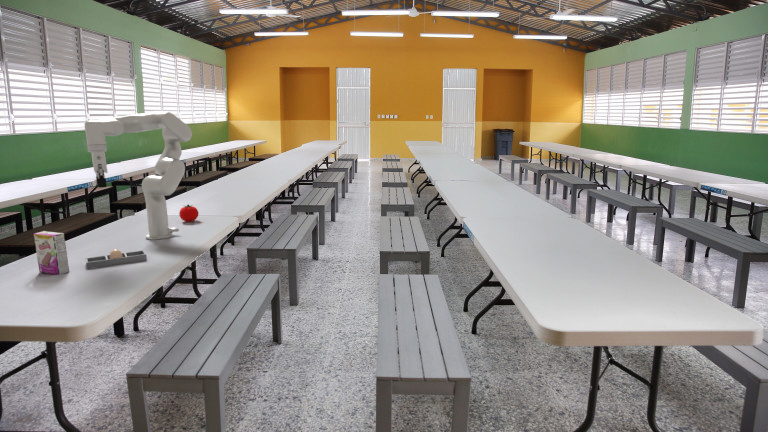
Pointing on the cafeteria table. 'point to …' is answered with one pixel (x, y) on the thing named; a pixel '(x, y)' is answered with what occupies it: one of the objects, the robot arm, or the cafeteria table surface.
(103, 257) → the tray
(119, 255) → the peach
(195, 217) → the tomato
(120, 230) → the cafeteria table surface
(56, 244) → the candy bar box
